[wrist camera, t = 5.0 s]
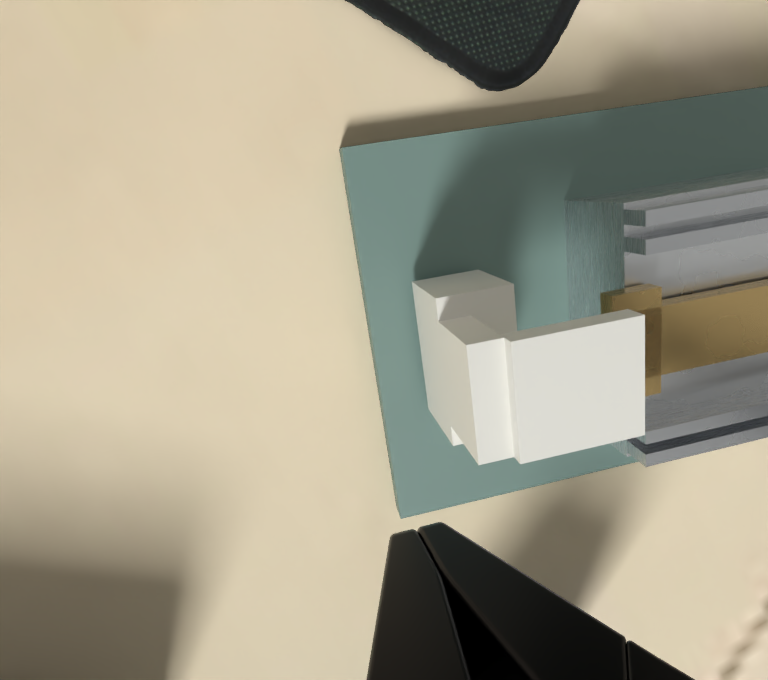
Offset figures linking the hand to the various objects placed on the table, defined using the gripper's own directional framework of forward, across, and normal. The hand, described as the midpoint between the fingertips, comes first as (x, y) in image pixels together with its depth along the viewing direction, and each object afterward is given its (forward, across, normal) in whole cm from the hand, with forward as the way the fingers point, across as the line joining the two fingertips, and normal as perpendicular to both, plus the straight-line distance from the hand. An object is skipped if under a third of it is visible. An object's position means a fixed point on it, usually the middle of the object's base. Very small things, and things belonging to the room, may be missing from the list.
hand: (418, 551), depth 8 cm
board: (+12, -14, 0) cm, 18 cm away
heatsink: (+11, -15, 0) cm, 18 cm away
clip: (+11, -5, 0) cm, 12 cm away
